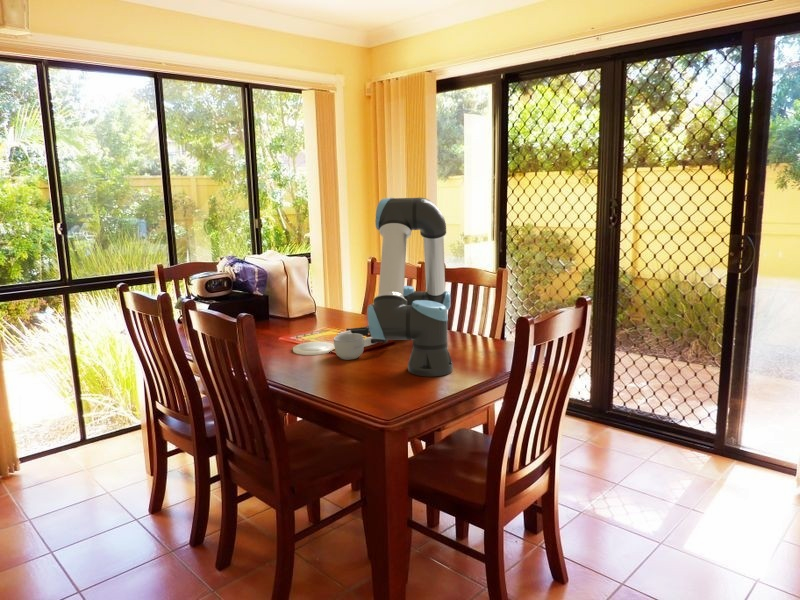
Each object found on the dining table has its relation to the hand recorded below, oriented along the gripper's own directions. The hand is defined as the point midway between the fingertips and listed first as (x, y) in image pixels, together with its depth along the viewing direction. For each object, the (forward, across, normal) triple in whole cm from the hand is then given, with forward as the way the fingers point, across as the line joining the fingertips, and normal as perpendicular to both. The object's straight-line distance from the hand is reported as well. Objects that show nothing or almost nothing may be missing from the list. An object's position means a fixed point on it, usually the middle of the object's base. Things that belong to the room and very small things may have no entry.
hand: (350, 340), depth 218 cm
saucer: (+3, +17, -6) cm, 19 cm away
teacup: (+1, 0, -6) cm, 6 cm away
